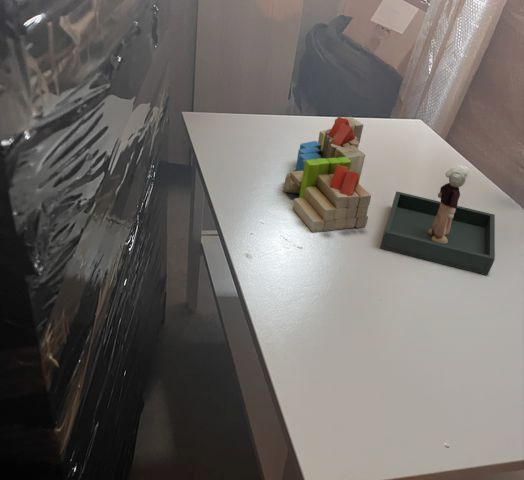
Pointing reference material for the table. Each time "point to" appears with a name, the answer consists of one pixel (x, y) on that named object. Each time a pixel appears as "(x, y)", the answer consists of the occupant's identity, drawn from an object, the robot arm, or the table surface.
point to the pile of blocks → (331, 179)
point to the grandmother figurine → (448, 203)
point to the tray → (459, 238)
